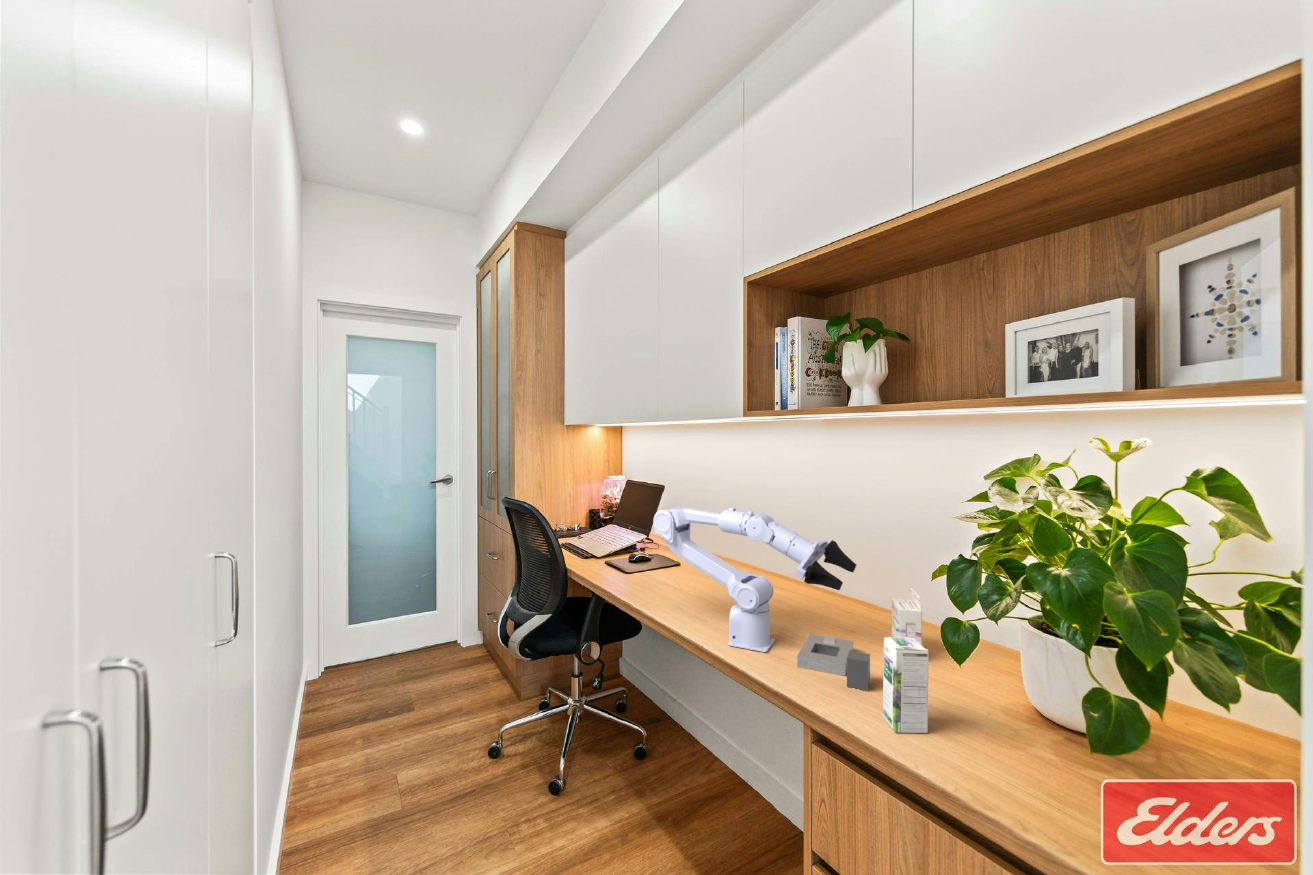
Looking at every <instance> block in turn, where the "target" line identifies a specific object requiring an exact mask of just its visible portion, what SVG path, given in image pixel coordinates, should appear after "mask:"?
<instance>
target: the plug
mask: <svg viewBox="0 0 1313 875" xmlns="http://www.w3.org/2000/svg"><path fill="white" fill-rule="evenodd" d="M870 685H871V654H870V653H864V652H859V651H854V650H853V651H849V653H848V656H847V672H846V688H847V687H848V689H852V688H855V689H854V690H857V689H859V690H858V691H861V692H867V691H868V692H869V689H870Z"/></svg>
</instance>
